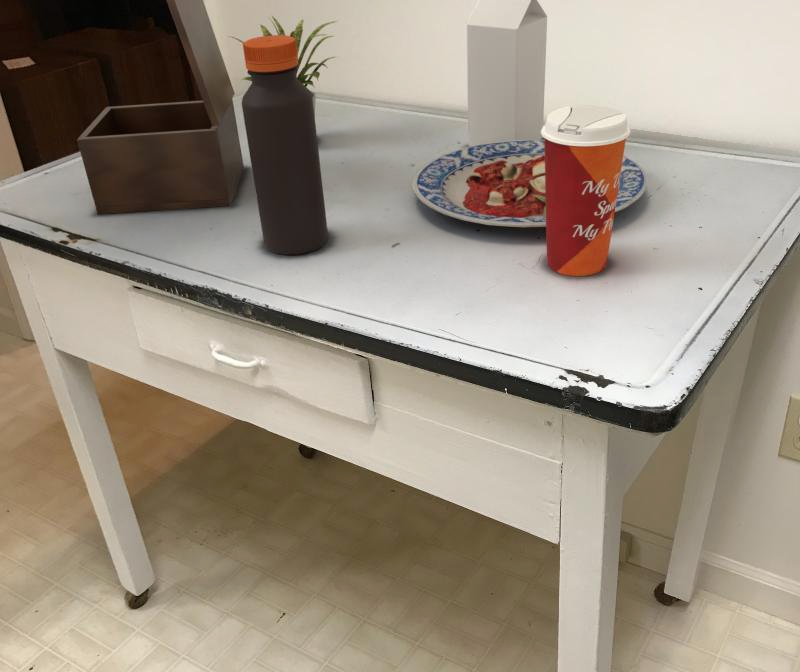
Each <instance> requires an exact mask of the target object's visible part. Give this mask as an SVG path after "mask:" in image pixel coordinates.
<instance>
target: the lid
mask: <svg viewBox="0 0 800 672" xmlns="http://www.w3.org/2000/svg"><path fill="white" fill-rule="evenodd" d="M166 3H167V5H168V9H169V11H170V13H171V17H172V20H173V22H174V25H175V28H176V30H177V33H178V36H179V38H180V41H181V44H182V47H183V50H184V52H185V55H186V58H187V61H188V63H189V66H190V69H191V72H192V74H193V77H194V80H195V82H196V85H197V88H198V91H199V94H200V96H201V99H202V101H203V102H204V105H205V108H206V110H207V113H208V116H209V119H210V121H211V124H212V126H213V127H214V126H218V125H219V124H220V122H221V120H222V118H223V116H224V114H225V112H226V110H227V108H228V106H229V104H230V102H231V100H232V99H233V98H234V96H235V93H236V92H235V90H234V87H233V84H232V81H231V78H230V75H229V72H228V70H227V66H226V63H225V61H224V58H223V55H222V52H221V48H220V46H219V42H218V39H217V37H216V35H215V31H214V29H213V25H212V22H211V20H210V17H209V14H208V11H207V8H206V5H205V2H204V0H166Z"/></svg>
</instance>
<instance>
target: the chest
mask: <svg viewBox="0 0 800 672" xmlns="http://www.w3.org/2000/svg"><path fill="white" fill-rule="evenodd" d="M234 105H235V104H234V100H233V98H232V100H231V102H230V104H229V106H228V108H227V110H226V112H225V114H224V116H223V118H222V120H221V122H220V124H219V125H218V126H214V127H213V126H212V124H211V121H210V119H209V116H208V113H207V110H206V108H205V105H204V102H203V100H192V101H178V102H177V101H175V102H161V103H147V104H145V103H144V104H132V105H117V106H116V105H115V106H106V107H105V108H104V109H103V110H102V111H101V113H100V114H98V115H97V116H96V118H95V119H94V120H93V121H92V122H91V124H90V125H88V127H87V128H86V129H85V130H83V132H82V133H81V134H80V136H78V138H77V139H76V141H77V145H78V149H79V152H80V155H81V159H82V160H81V161H82V164H83V166H84V171H85V174H86V177H87V181H88V185H89V188H90V192H91V195H92V199H93V203H94V206H95V211H96V214H97V215H106V214H107V215H108V214H122V213H123V214H124V213H137V212H140V213H141V212H152V211H153V212H155V211H169V210H170V211H171V210H183V209H185V210H186V209H202V208H214V207H216V208H217V207H230V206H231V204H232V202H233V199H234V196H235V194H236V191H237V188H238V186H239V183H240V181H241V177H242V175H243V172H244V169H245V165H244V160H243V153H242V148H241V141H240V136H239V135H240V134H239V130H238V123H237V118H236V112H235V107H234Z"/></svg>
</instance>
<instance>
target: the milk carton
mask: <svg viewBox="0 0 800 672" xmlns="http://www.w3.org/2000/svg"><path fill="white" fill-rule="evenodd" d="M547 32H548V15H547V14H546V12H545V11H544V9H543V7H542V6H541V4H540V2H539V1H538V0H477V2H476V3H475V5H474V8H473V10H472V11H471V14H470V16H469V18H468V20H467V22H466V64H467V65H466V67H467V68H466V70H467V71H466V73H467V74H466V75H467V78H466V79H467V145H468V147H470V146H474V145H479V144H484V143H492V142H499V141H510V140H543V138H544V137H543V136H542V135H541V129H542V127H543V126H544V116H545V115H544V114H545V89H546V88H545V87H546V84H545V83H546V65H547V64H546V61H547V36H548V33H547Z"/></svg>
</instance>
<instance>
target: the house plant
mask: <svg viewBox="0 0 800 672" xmlns="http://www.w3.org/2000/svg"><path fill="white" fill-rule="evenodd" d="M267 17H268V16H267ZM271 17H272V19H271V18H270V17H268V19H269V20H270V21H271V23H272V24H273V27H274V29H275V32H276V33H277V34H276V35H285V36H287V35H286V33H285V30H284V29H283V27H282V25H281V24H280V23H279V21H278V19H276V17H274V15H271ZM337 22H338V20H336V21H329V22H325V23H323V24H321V25H319V26H318V27H316V28H315V29H314V30H313V31H311V33H310V34H309V36H308V37H307V39H306V41H305V43H304V45H303V48H302V49H301V51H300V53H299V50H300V48H301V47H300V46H301V41H302V36H303V33H304V29H303V24H304V19H301V20H300V21H299V22H298V24H297V25H296V27H295V29H294V30H293V31H291V32H290V34H289V36H291V37H293V38H295V39H296V45H297V53H298V54H300V55H298V67H299V68H300V66H301V63H302V61H303V58H304V55H305V54H306V51H307V50H308V47H309V45H310V44H311V43H312V40H313V39H314V38H316V37H322V38H321V39H319V40H318V42H316V44H314V46H313V48H312V49H311V51H310V53H309V56H308V58H307V60H306V63H305V64H304V66H303V67H302V69H301V70H300V72H299V69H298V70H297V71H296V75H297V74H298V75H297V79H298V80H299V81H300V82H301V83H302V84H303V85H304V86H306V87H307V88H308V85H310V86H312V87H313V88H315V85H314V82H313V80H312V78H313V77H314V78H316V80H317V81H319V77H320V75H321V73H320V72H319V71H318V70H319V69H320V68H321V67H322V66H324V67H325V68H328V66H327V65H326V64H325V63H326V62H327V61H328V60H331V59H335V58H337V57H338V56H331V57H327V58H325V59H324V60H322V61H320V62H310V60H311V59H312V56H313V55H314V54H315V51H316V50H317V49H318V47H319V46H320V45H321V43H323V42H324V41H325V40H326V39H330V38H332V37H334V35H326V34H323V33H319V32H321V30H322V29H323V28H324V27H326V26H328V25H331V24H334V23H337ZM260 29H261V32H262V35H263V36H271V35H273V34H272V33H271V32H270V31H269V29H268V28H267V27H266V26H264V25H262V24H260ZM318 33H319V34H318ZM323 36H325V37H323ZM227 37H229V38H232V39H235V40H237V41H238V42H239V43H241V44H243V43H244V42H245V41H243V40H241V39H239V38H237V37H234V36H228V35H227ZM309 62H310V63H309ZM244 65H245V66H246V63H245V64H244ZM314 66H315V68H314V69H313V71H312V72H311V73H309V74H308V73H307V72H308V71H309V69H311V68H312V67H314ZM298 72H299V73H298ZM306 73H307V74H306ZM307 78H308V79H307ZM242 80H243V81H244V80H245V81H249V82H252V80H251V76H246V77H244V78H242ZM310 91H311V93H312V98H313V107H314V116H315V117H316V98H317V95H316V93H315V92H314V91H312V90H310Z"/></svg>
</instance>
